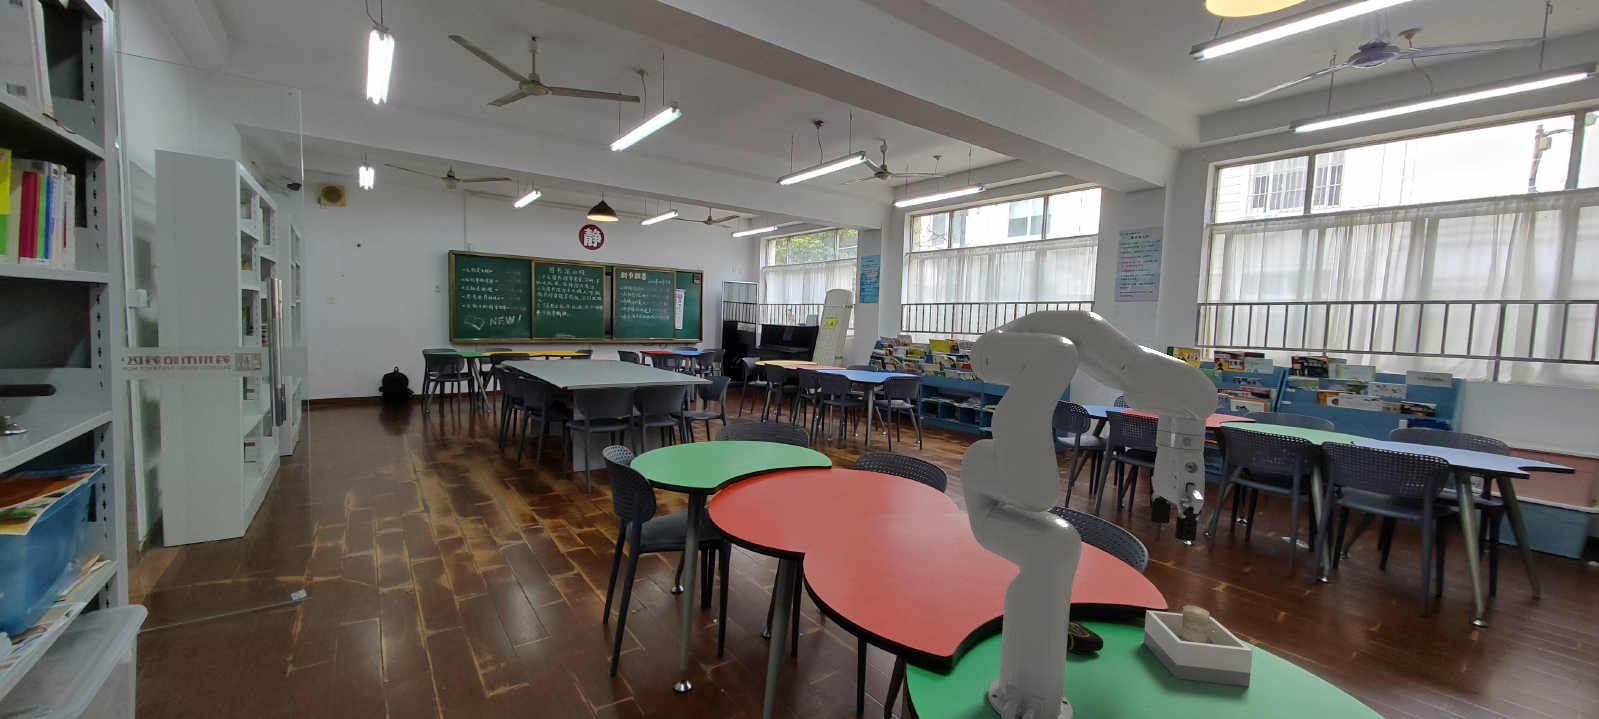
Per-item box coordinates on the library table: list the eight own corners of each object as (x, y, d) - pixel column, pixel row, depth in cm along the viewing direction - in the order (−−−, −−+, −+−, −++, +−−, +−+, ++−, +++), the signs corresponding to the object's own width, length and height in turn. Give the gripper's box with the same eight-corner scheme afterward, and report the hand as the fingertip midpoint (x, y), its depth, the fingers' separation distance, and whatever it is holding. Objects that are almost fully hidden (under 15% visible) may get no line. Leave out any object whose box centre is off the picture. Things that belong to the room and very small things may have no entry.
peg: (1206, 671, 104) (1210, 617, 103) (1180, 664, 106) (1183, 611, 105) (1205, 661, 107) (1209, 609, 107) (1180, 654, 109) (1183, 603, 109)
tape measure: (1104, 655, 108) (1106, 636, 108) (1075, 660, 106) (1077, 640, 105) (1077, 636, 114) (1078, 618, 114) (1049, 640, 112) (1050, 622, 112)
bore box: (1249, 686, 100) (1252, 650, 99) (1175, 678, 101) (1178, 642, 101) (1208, 649, 112) (1211, 616, 111) (1143, 642, 113) (1146, 610, 113)
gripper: (1228, 452, 98) (1219, 549, 99) (1178, 435, 115) (1170, 518, 116) (1181, 448, 99) (1172, 544, 100) (1138, 432, 117) (1131, 514, 117)
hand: (1171, 530), depth 108 cm, fingers open, 9 cm apart
